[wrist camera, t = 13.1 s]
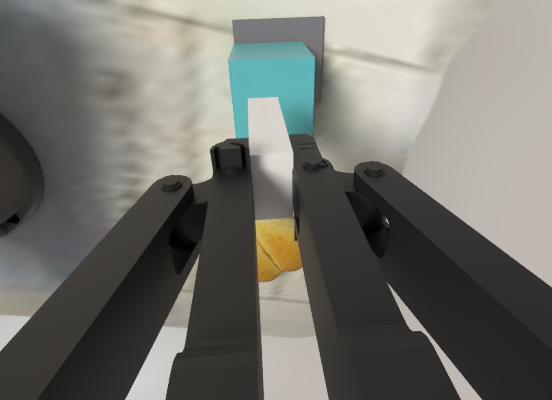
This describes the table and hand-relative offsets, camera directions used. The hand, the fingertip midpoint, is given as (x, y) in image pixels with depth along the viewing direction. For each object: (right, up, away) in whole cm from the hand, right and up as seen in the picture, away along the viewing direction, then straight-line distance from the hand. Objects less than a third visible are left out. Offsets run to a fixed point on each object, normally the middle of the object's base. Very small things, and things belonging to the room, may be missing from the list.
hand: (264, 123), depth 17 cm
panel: (+1, +7, +10) cm, 12 cm away
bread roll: (0, -9, +21) cm, 22 cm away
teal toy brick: (0, +6, +9) cm, 11 cm away
